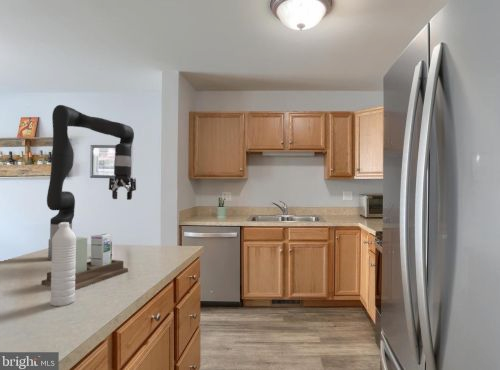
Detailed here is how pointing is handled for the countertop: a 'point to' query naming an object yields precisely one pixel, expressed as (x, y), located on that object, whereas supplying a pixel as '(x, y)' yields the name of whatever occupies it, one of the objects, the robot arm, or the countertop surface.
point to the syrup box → (101, 249)
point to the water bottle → (63, 266)
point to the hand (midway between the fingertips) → (122, 199)
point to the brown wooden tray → (93, 274)
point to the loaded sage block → (81, 254)
